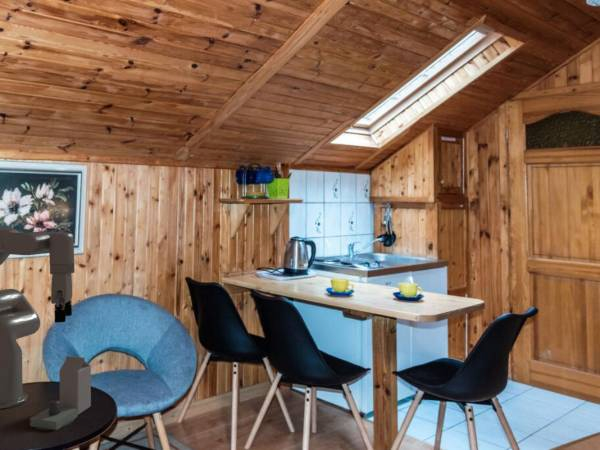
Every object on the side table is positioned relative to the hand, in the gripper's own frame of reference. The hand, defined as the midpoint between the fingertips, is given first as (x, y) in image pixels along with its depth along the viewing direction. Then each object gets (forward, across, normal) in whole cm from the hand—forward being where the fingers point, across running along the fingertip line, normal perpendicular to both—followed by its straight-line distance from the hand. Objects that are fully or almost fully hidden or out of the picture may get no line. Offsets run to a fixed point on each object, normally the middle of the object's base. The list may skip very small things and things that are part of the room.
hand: (63, 318), depth 165 cm
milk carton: (+33, -2, +3) cm, 33 cm away
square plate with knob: (+32, +7, -2) cm, 33 cm away
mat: (+33, +7, -2) cm, 34 cm away
